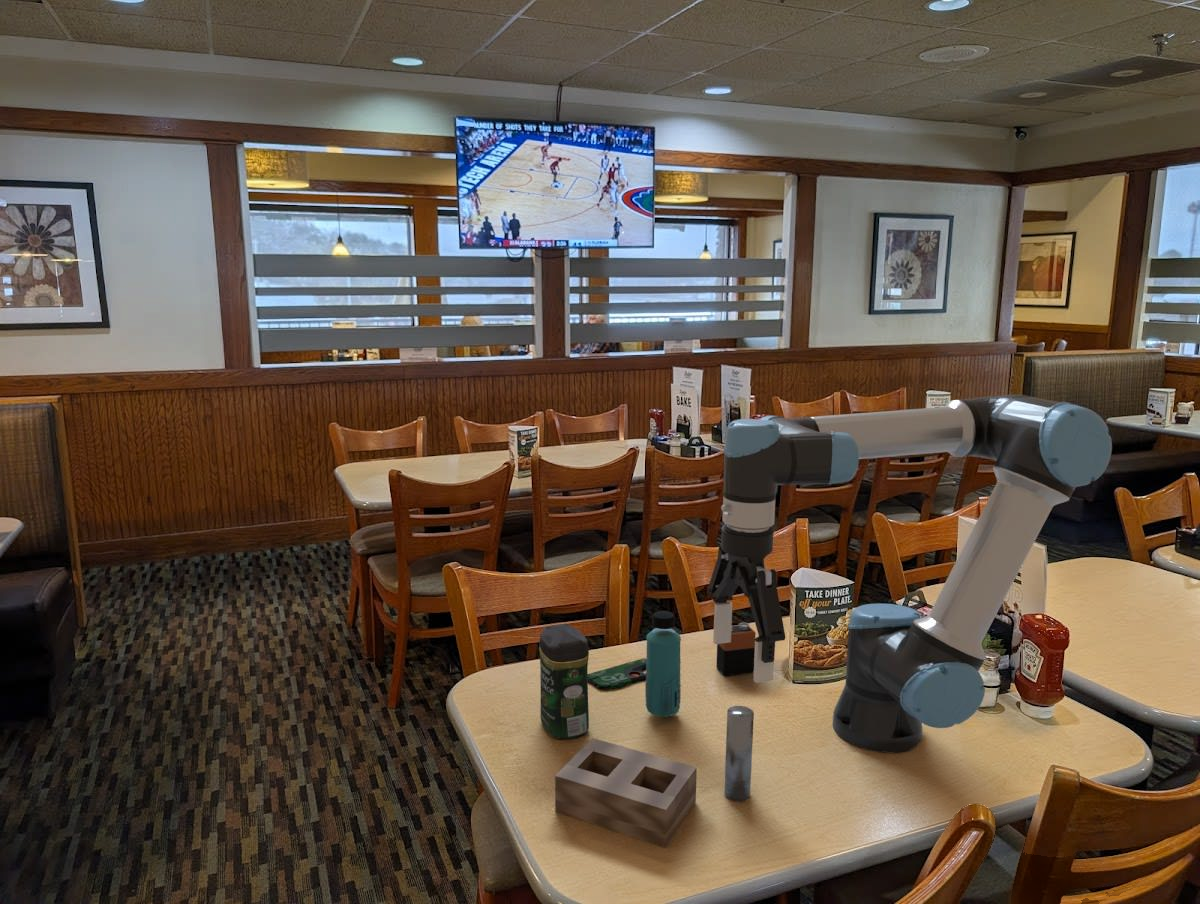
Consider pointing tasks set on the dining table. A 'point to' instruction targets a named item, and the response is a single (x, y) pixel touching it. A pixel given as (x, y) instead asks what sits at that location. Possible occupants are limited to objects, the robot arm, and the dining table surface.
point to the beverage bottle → (663, 666)
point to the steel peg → (738, 753)
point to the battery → (737, 651)
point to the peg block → (626, 791)
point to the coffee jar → (564, 681)
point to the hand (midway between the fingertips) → (741, 660)
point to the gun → (619, 675)
